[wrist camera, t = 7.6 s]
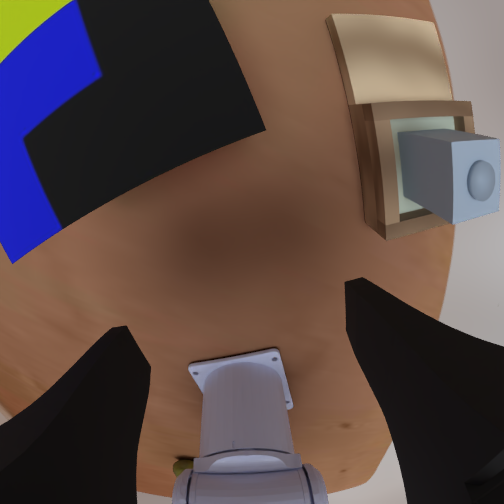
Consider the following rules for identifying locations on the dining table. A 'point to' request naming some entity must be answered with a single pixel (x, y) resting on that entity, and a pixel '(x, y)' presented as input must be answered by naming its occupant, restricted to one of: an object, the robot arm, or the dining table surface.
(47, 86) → the puzzle toy
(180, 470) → the olive green rounded lump
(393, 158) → the socket block
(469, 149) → the stud block
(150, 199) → the dining table surface
